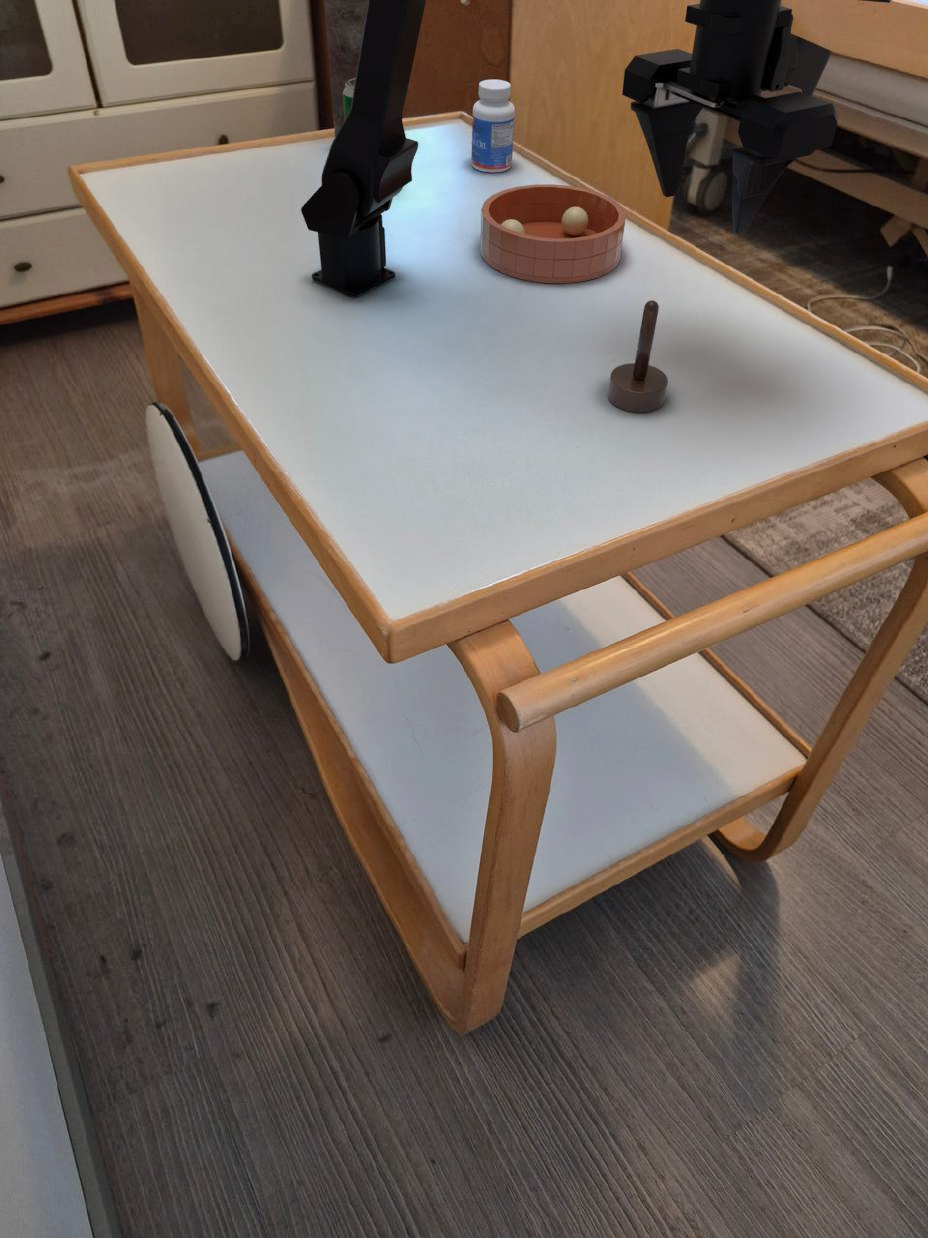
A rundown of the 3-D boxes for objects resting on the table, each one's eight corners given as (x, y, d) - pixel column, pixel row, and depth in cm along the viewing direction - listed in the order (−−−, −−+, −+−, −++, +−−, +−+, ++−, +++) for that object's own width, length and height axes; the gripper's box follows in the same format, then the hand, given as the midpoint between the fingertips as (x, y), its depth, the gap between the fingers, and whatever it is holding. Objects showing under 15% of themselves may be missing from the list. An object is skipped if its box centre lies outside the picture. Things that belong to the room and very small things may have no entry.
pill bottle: (464, 161, 121) (465, 79, 114) (500, 156, 122) (503, 75, 115) (482, 175, 117) (484, 91, 110) (519, 170, 119) (523, 87, 112)
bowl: (566, 297, 94) (571, 254, 90) (452, 254, 100) (452, 212, 97) (646, 249, 102) (653, 209, 99) (535, 212, 109) (538, 173, 106)
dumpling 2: (576, 242, 102) (579, 214, 100) (555, 234, 103) (557, 207, 101) (591, 233, 103) (594, 207, 101) (570, 226, 105) (573, 200, 103)
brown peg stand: (644, 419, 78) (663, 321, 71) (596, 398, 80) (610, 302, 74) (674, 396, 81) (694, 299, 74) (627, 376, 83) (642, 281, 76)
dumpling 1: (512, 255, 99) (514, 228, 97) (491, 247, 100) (492, 220, 98) (529, 247, 101) (531, 219, 98) (507, 239, 102) (509, 212, 100)
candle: (329, 139, 126) (314, -36, 112) (379, 134, 128) (371, -39, 113) (343, 157, 121) (330, -23, 107) (396, 151, 123) (390, -27, 108)
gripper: (925, 2, 62) (856, 233, 73) (742, -41, 73) (707, 163, 84) (802, 21, 58) (749, 262, 69) (630, -27, 70) (608, 185, 81)
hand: (703, 213), depth 76 cm, fingers open, 9 cm apart
